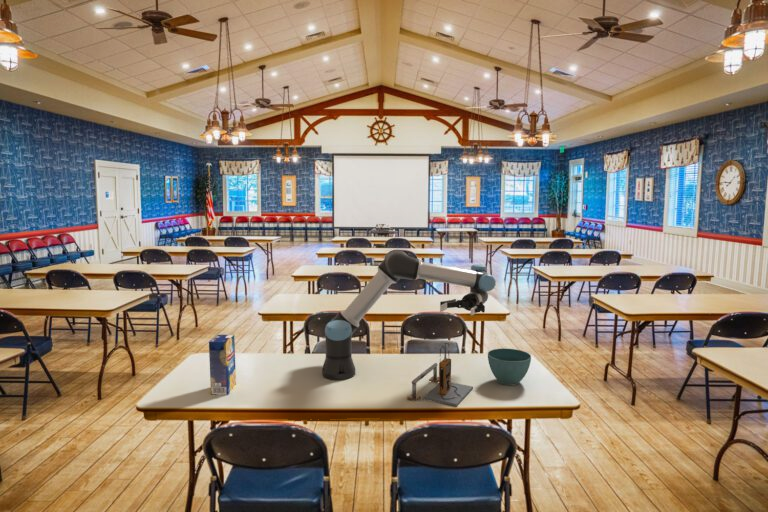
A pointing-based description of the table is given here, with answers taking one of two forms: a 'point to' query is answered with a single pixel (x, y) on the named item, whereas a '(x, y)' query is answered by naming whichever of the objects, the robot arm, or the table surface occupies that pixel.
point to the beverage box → (222, 364)
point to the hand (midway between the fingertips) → (455, 310)
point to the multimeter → (445, 375)
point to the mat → (449, 394)
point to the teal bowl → (509, 365)
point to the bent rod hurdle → (432, 379)
